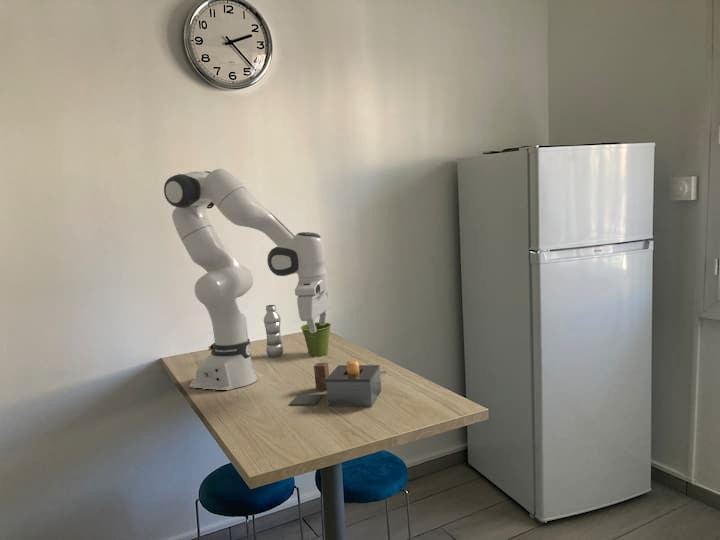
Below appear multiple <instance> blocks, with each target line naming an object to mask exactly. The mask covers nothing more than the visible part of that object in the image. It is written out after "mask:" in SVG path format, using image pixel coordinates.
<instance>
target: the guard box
mask: <svg viewBox="0 0 720 540" xmlns="http://www.w3.org/2000/svg"><path fill="white" fill-rule="evenodd" d="M380 366H381V365H380V364H377V365H375V364H374V365H372V364H370V365H368V364H367V365H366V364H365V365H363V364H361V365H360V364H359V372H360V375H347V364H344V365H342V364H341V365H340V364H339V365H337V366H336V367H335V368H334V369H333V371H332V372H331V373H329V376H328V377H327V379H326V387H327V391H326V394H327V398H326V399H327V406H328V407H361V406H363V408H364V407H366V408H368V407H369V408H370V407H373V406H374V404H375V402H376V400H377V399H378V397H379V396H380V394H381V392H382V382H381V380H382V379H381V374H380Z"/></svg>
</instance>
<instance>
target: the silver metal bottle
mask: <svg viewBox="0 0 720 540" xmlns="http://www.w3.org/2000/svg"><path fill="white" fill-rule="evenodd" d="M276 310H277V308H276V304H268V305H265V311H266V313H265V314H264V317H263V323H264V327H265V328H264V329H265V334H266V350H265V351H266V354H267V356H269V357H272V358H274V357H275V356H276V357H280V356H282V355H283V353H284V345H283V343H282V337H281V316H280V314H278V313H277V311H276Z"/></svg>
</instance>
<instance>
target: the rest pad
mask: <svg viewBox="0 0 720 540" xmlns="http://www.w3.org/2000/svg"><path fill="white" fill-rule="evenodd" d="M323 397H324V394H323V393H322V394H321V393H316V394H315V393H307V394H306V393H298V394H297V395H296V396H295V397H294V398H293V399H292V400H291V401H290V402H289V403H288V405H289V406H300V407H301V406H302V407H303V406H304V407H305V406H310V407H312V406H316V405H317V404H318V403H319V402H320V401H321V399H323Z"/></svg>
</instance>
